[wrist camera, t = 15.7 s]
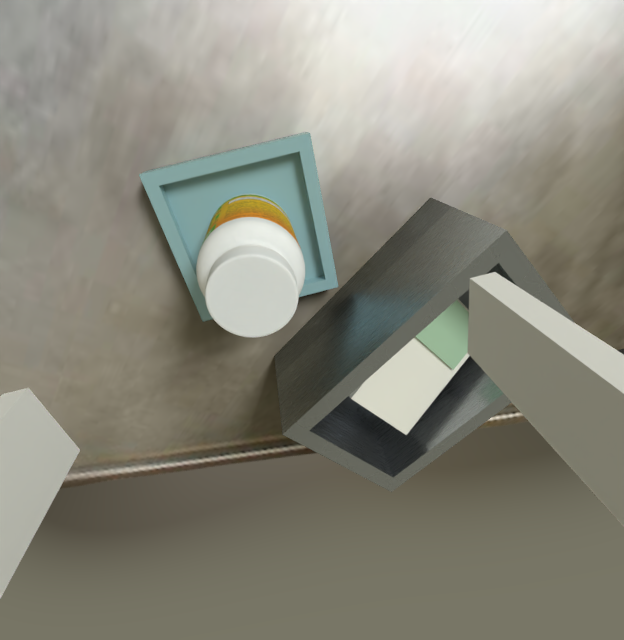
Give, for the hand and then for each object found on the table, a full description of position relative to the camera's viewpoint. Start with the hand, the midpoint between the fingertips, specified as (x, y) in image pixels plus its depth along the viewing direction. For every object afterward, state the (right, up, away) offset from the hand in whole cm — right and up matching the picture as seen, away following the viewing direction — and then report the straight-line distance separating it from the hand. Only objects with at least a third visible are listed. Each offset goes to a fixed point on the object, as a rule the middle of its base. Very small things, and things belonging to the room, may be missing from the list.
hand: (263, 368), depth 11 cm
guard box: (+8, +1, +19) cm, 20 cm away
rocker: (+9, -1, +14) cm, 17 cm away
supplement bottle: (-3, +7, +13) cm, 15 cm away
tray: (-3, +8, +13) cm, 16 cm away
